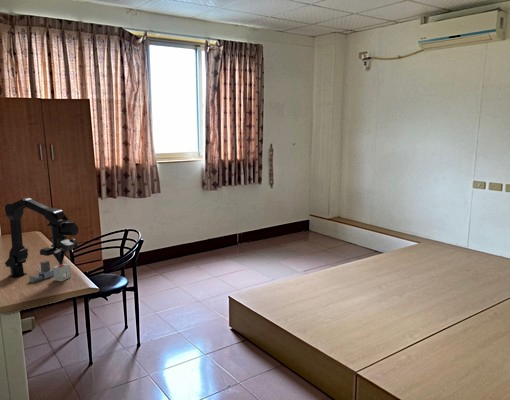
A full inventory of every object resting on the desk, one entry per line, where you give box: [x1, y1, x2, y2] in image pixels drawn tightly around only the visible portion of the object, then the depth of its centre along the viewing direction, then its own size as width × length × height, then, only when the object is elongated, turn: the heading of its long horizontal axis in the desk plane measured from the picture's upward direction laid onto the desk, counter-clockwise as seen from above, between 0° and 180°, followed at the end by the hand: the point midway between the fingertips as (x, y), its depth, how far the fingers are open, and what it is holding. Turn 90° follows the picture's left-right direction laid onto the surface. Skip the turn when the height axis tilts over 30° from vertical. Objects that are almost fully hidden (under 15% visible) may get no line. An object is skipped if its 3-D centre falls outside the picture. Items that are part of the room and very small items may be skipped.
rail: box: [28, 268, 53, 284], centre depth 226 cm, size 3×13×3 cm, turn 153°
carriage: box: [37, 260, 54, 280], centre depth 227 cm, size 5×5×8 cm
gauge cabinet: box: [52, 263, 72, 282], centre depth 224 cm, size 6×6×7 cm
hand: (60, 264), depth 223 cm, fingers closed, pressing on reset button
